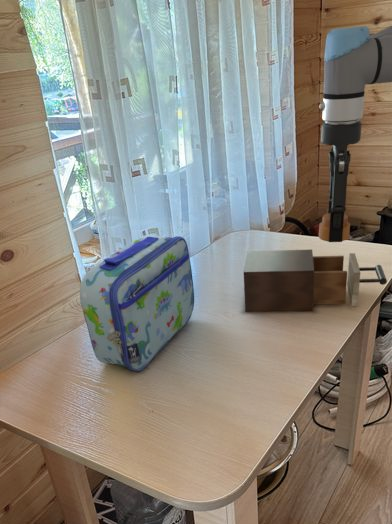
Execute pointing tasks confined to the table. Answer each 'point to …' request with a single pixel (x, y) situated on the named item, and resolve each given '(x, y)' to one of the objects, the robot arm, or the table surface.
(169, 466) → the table surface
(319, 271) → the drawer
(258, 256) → the cabinet
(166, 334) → the lunch box
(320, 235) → the orange-brown stepped cylinder
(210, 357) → the table surface
